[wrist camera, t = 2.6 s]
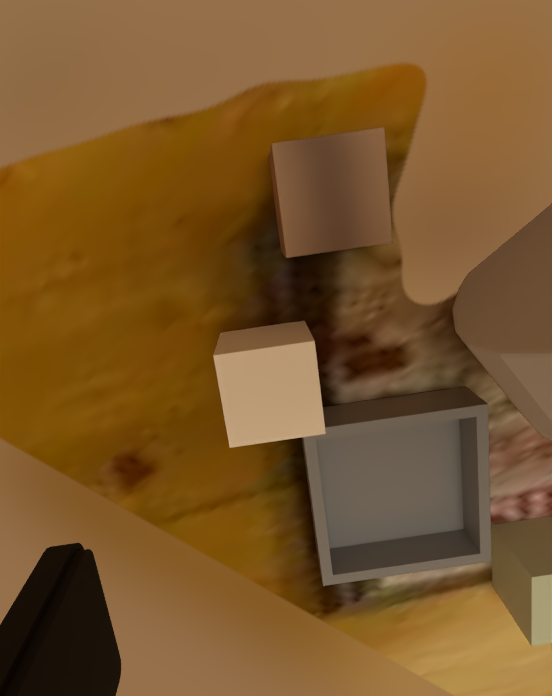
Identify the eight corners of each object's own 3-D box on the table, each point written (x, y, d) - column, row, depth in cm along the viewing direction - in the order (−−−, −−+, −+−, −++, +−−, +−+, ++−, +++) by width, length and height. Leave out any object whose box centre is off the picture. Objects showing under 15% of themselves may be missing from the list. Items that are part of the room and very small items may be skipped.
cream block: (304, 320, 34) (314, 341, 28) (314, 399, 35) (325, 433, 30) (220, 332, 34) (213, 355, 28) (233, 410, 35) (229, 447, 30)
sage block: (563, 513, 39) (617, 564, 33) (561, 574, 40) (613, 634, 35) (490, 524, 39) (531, 577, 33) (492, 585, 40) (531, 646, 35)
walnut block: (360, 144, 31) (384, 127, 25) (368, 238, 33) (392, 242, 27) (268, 157, 31) (271, 143, 25) (280, 251, 33) (286, 257, 27)
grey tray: (465, 386, 36) (487, 404, 32) (470, 531, 39) (491, 561, 35) (297, 410, 35) (302, 430, 32) (317, 553, 39) (323, 585, 35)
